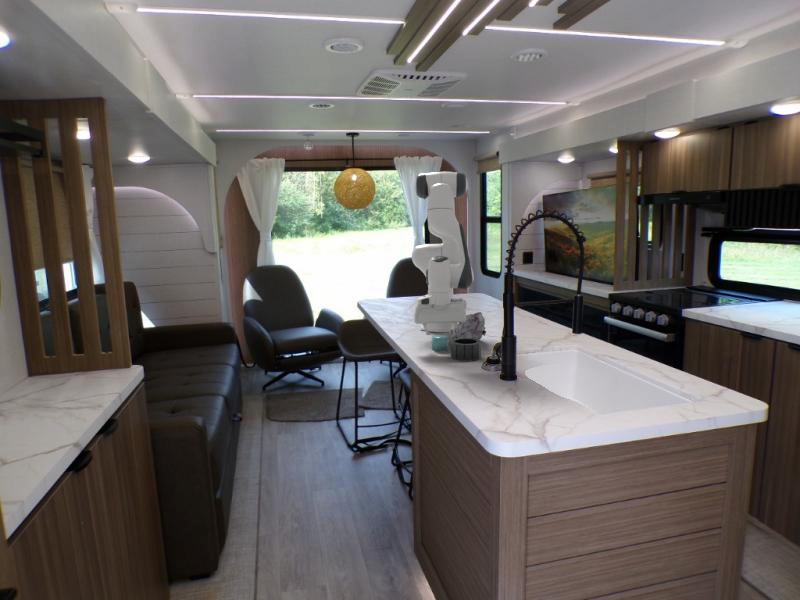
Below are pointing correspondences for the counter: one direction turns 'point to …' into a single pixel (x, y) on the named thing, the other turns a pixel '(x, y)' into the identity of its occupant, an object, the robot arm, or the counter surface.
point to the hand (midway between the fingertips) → (439, 334)
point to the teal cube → (439, 343)
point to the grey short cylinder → (465, 349)
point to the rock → (471, 327)
